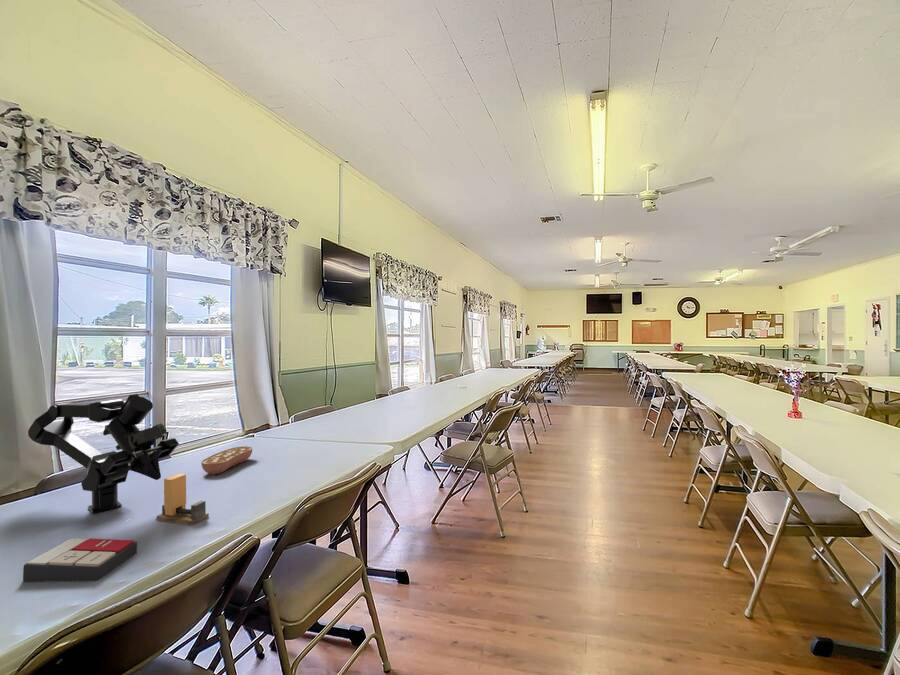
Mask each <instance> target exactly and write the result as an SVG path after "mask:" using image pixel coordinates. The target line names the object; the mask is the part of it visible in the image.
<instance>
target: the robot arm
mask: <svg viewBox="0 0 900 675" xmlns="http://www.w3.org/2000/svg"><path fill="white" fill-rule="evenodd" d="M153 408H154V405H153V402H152V401H151V400H150V399H147V398H146V397H143V396H140V395H139V394H138V393H133V394H129V395H128V397H127V399H126V400H125V402H124V400H123V399H121V398H116V399H110V400H102V401H96V402H95V401H94V402H91V403H90V402H88V403H87V402H82V403H81V402H61V403H56V404H52V405H51V406H49V408H48V410H47V411H45V412H44V413H43V414H41V415H40V416H38V417H37V418H36V419H34V421H33V422H32V424H31V425H30V427H29V428H28V430H27V435H28V437H29V438H30V439H31V441H33V442H34V443H37V444H39V445H42V446H50V447H51V446H52V447H55V448H57V449H58V450H59V451H61V452H63V454H65V455H66V456H68V457H70V458H71V459H72V460H74V461H75V462H77V463H78V464H80V465H81V466H83V467H84V468H85V469H86V476H85V478H83V480H82V481H81V483H80V485H81V488H82V490H83V491H86V492H91V505H88V506H87V509H88V510H89V511H90V512H91V513H92V514H97V513H101V512H104V511H105V512H106V511H108V510H113V509H116V508H120V507H122V505H123V504H122V503H121V502H120V501H119V499H118V495H119V494H118V493H119V492H118V484H121V483H125V482H126V481H127V478H128V473H129V472H130V471H131V472H132V471H133V472H135V473H138V474H140V475H144V476H145V477H148V478H151V479H153V480H155V481H158V480H160V479H161V478H162V475H161V468H160V464H159V460H161V459H164V458H168V457H169V456H171V454H172V453H173V452H174V450H175V449H176V448H177V447H178V446H179V445H180V443H179V442H178V440H177V439H176V438H174V437H171V438H166V439H163V440H160V441H159V442H158V444H157V445H156V446H155V447H152V446H154V445H155V444H156V443H157V441H156V440H158V439H160V438H163V437H164V435H165V434H167V432H168V430H167V428H166V426H165V425H164V424H163V423H162V422H161V423H157V424H155V425H153V426H152V427H148V428H145V429H142V430H140V428H139V427H137V425H140V424H141V423H142V422H143V421H144V419H146V417H147V416H148V414H150V412H151V411H152V410H153ZM74 418H88V419H89V421H90V422H95V423H104V422H109V421H110V422H109V423H108V424H107V425H105V426H104V430H103V432H102V434H103V436H109V435H111V437H112V438H113V439H114V441H115V442H116V443H117V445H116V446H115V449H116V450H117V451H118V452H117V451H115V450H112V451H107V452H104V453H102V452H100V451H99V450H98V449H96V448H94V447H93V446H92V445H90V444H89V443H88V442H86V441H84V440H83V439H81V438H80V437H79V436H77V435H76V434H74V433H73V432H72V426H73V425H74V423H75V421H74ZM119 450H120V451H119Z"/></svg>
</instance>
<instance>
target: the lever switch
mask: <svg viewBox="0 0 900 675" xmlns="http://www.w3.org/2000/svg"><path fill="white" fill-rule="evenodd" d="M206 509H207V508H206V500H199V501H198V502H195V503H193V504H191V505H190V509H188V508H186V509H183V508H176V514H175V515H173V516H171V515H165V509H164V504H163V505H161V513H160V514H158V515H156V521H160V522H161V521H162V522H168V523H175V524H182V525H190V526H194V525H195V524H197V523H198V524H199V523H200V522H202V521H204V520H206V519H208V518H210V516H209V513H208V512H206Z"/></svg>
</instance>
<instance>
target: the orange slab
mask: <svg viewBox="0 0 900 675" xmlns="http://www.w3.org/2000/svg"><path fill="white" fill-rule="evenodd" d="M186 504H187V474H186V473H177V474H174V475H171V476H168V477H166V478H163V505H164V509H165V515H171V516H173V515H175V514H176V508H183V509H187V508H186Z"/></svg>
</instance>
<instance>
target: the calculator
mask: <svg viewBox="0 0 900 675" xmlns="http://www.w3.org/2000/svg"><path fill="white" fill-rule="evenodd" d="M137 549H138V542H137V541H135V540H134V539H117V538H116V539H115V538H111V539H110V538H88V539H87V538H70V539H68V540H66V541H64V542H63V543H60V544H59V545H57V546H55V547H53V548H51V549H49V550H48V551H46V552H43V553H42V554H40V555H39V556H36V557H35V558H32V559H31V560H29V561H27V563H24V565H23V567H22V568H23V572H22V583H44V582H48V581H49V582H98V581H100V580H102V579H103V578H104V577H106V576H107V575H109V574H110V573H111V572H113V571H114V570H115V569H117V568H118V567H120V566H121V565H122V564H124V563H125V562H127V561H128V560H130V559H131V558H133V557H134V556H135V555H137V552H138V550H137Z"/></svg>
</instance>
